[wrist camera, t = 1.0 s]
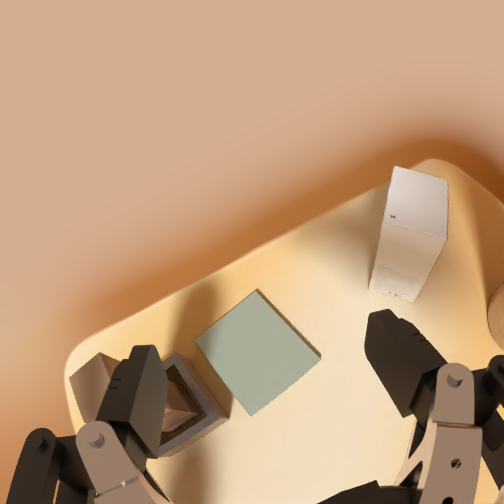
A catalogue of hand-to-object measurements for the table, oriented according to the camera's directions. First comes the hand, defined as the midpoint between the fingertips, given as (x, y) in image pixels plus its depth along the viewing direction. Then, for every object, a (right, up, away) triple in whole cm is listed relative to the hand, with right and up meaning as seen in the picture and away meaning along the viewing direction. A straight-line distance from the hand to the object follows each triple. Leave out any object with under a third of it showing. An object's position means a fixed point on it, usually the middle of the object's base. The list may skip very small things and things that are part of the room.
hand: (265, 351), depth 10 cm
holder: (-9, -15, +20) cm, 27 cm away
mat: (0, -8, +22) cm, 23 cm away
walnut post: (-9, -15, +20) cm, 27 cm away
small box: (+18, +1, +23) cm, 29 cm away
